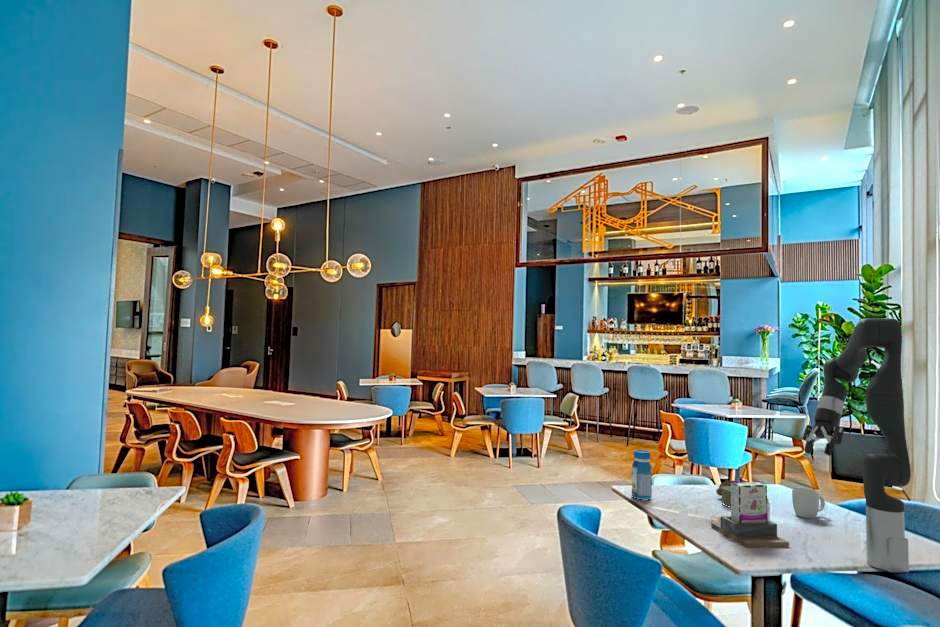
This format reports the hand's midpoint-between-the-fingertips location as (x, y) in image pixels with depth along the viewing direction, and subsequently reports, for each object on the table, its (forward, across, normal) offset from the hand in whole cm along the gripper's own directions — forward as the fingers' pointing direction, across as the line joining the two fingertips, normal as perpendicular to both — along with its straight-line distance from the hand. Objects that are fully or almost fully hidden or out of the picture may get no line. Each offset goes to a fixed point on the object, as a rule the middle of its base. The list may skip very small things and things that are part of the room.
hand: (817, 453), depth 187 cm
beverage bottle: (+36, -56, -25) cm, 71 cm away
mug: (+15, -27, +28) cm, 42 cm away
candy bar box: (+34, -7, -10) cm, 37 cm away
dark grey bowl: (+22, -43, +9) cm, 49 cm away
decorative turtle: (+19, -53, +14) cm, 58 cm away
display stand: (+36, -7, -10) cm, 38 cm away
